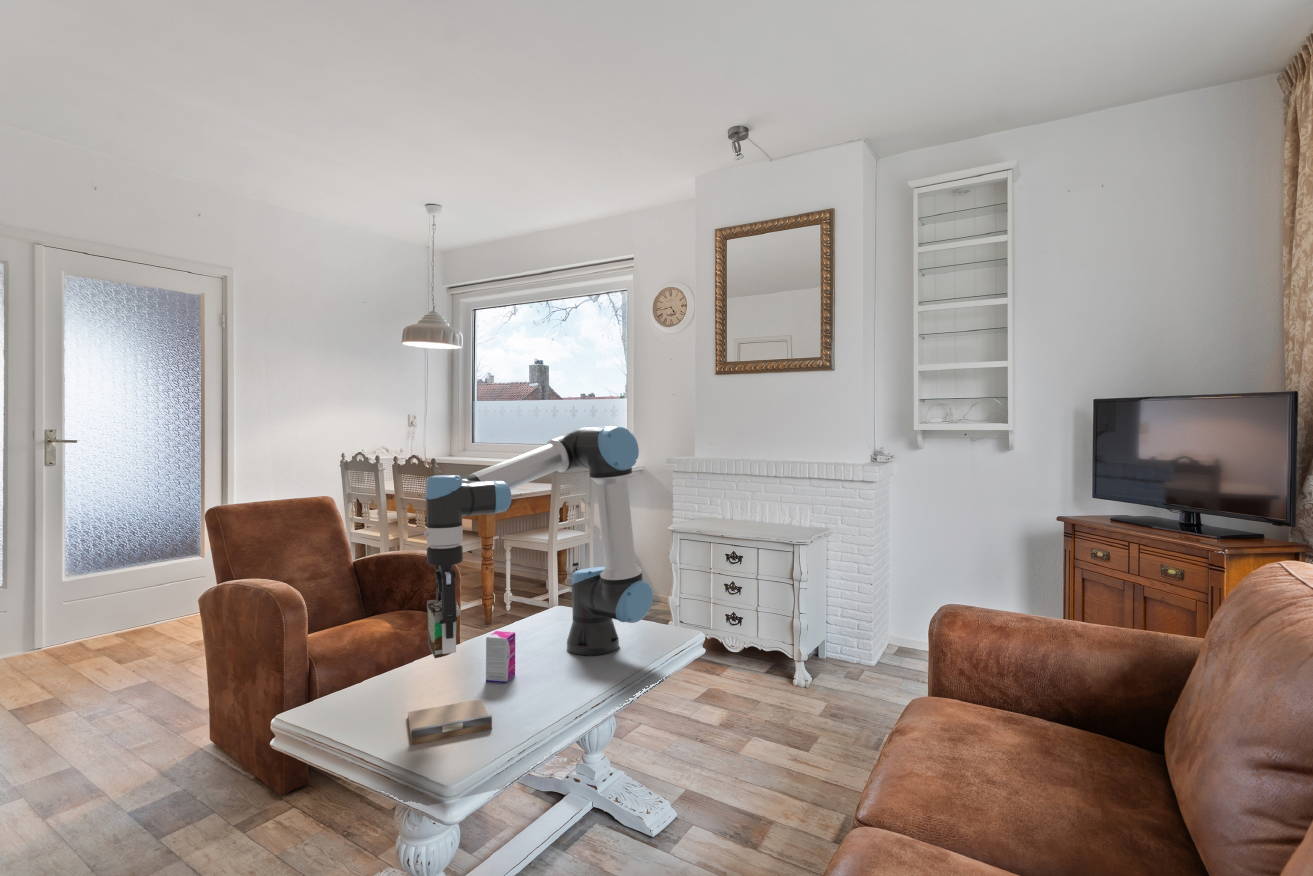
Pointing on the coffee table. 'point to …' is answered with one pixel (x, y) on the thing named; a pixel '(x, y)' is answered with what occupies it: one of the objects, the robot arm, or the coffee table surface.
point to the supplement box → (500, 657)
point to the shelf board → (448, 721)
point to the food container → (436, 627)
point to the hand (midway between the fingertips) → (446, 644)
